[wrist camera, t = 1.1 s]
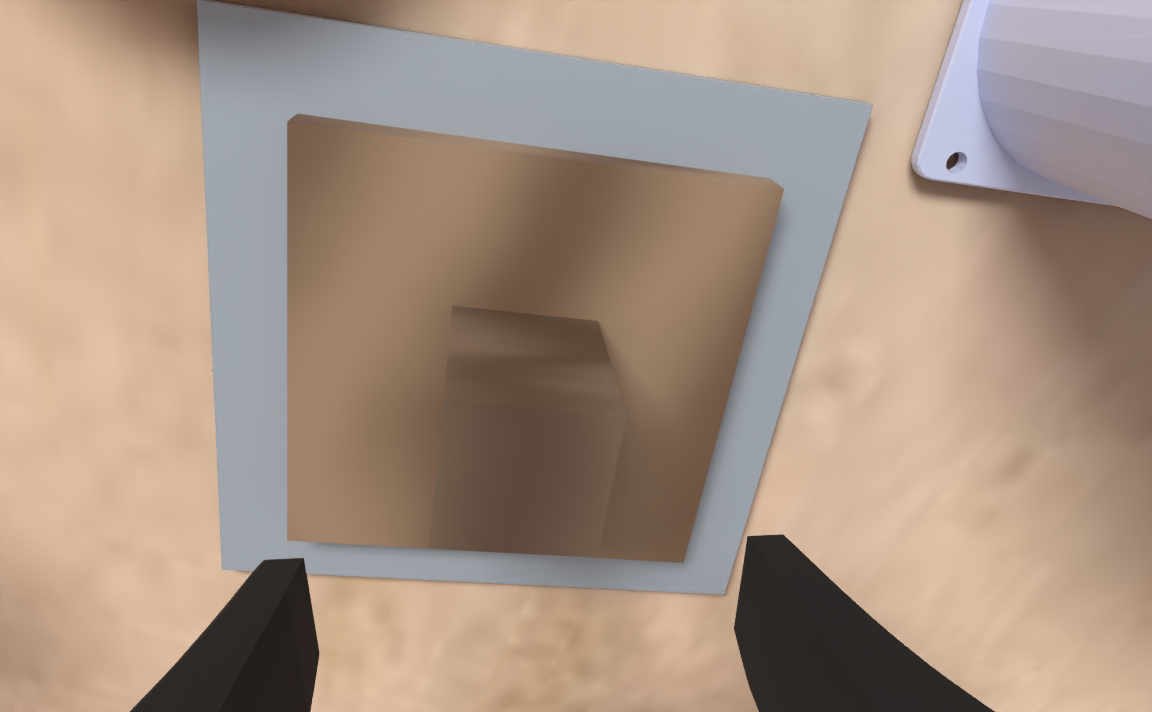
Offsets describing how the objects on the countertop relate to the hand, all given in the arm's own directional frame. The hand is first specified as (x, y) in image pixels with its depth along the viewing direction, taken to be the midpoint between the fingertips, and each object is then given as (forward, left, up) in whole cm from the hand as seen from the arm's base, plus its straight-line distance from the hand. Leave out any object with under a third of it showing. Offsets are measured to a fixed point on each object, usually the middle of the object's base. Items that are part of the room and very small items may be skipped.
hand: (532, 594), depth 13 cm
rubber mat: (0, 0, -9) cm, 9 cm away
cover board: (0, 0, -9) cm, 9 cm away
